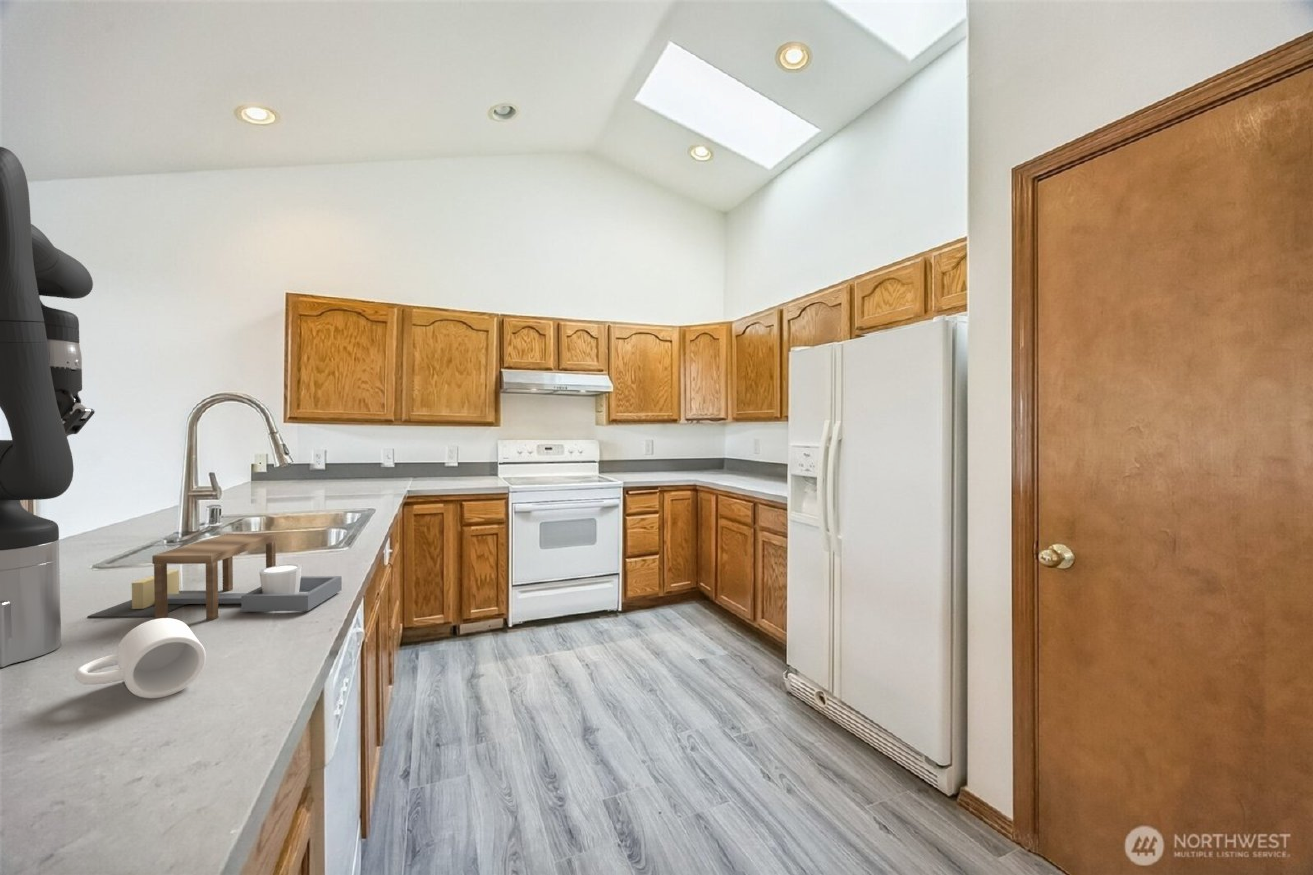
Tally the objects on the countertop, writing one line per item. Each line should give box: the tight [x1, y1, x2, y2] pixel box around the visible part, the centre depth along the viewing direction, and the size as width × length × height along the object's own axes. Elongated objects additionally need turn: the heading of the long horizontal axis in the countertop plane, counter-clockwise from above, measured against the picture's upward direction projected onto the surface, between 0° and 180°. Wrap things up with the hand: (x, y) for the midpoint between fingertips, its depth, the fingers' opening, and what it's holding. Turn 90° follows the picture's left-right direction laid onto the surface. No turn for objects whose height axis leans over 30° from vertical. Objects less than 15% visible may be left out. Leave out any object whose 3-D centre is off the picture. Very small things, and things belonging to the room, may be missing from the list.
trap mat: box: [86, 590, 206, 619], centre depth 102 cm, size 14×12×1 cm
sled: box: [131, 569, 343, 613], centre depth 103 cm, size 12×33×5 cm, turn 94°
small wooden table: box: [151, 533, 277, 621], centre depth 103 cm, size 18×10×12 cm, turn 4°
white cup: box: [258, 563, 303, 594], centre depth 104 cm, size 7×7×7 cm
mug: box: [74, 617, 207, 699], centre depth 71 cm, size 12×10×8 cm
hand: (54, 457), depth 98 cm, fingers closed
